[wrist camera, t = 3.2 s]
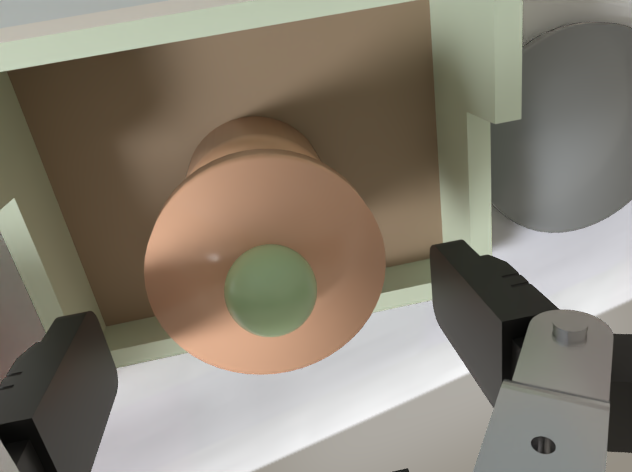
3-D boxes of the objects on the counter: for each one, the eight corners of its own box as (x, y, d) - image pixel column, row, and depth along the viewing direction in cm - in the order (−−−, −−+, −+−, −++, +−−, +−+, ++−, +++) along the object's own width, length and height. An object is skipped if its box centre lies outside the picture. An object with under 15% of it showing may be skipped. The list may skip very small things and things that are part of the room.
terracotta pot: (155, 121, 18) (89, 215, 10) (321, 91, 19) (395, 156, 10) (197, 269, 21) (174, 446, 12) (343, 239, 21) (416, 391, 13)
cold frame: (-24, 40, 17) (-215, 62, 10) (443, -38, 18) (584, -71, 11) (96, 338, 22) (29, 499, 15) (456, 262, 23) (559, 376, 16)
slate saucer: (467, 42, 19) (476, 43, 19) (675, 5, 20) (692, 4, 19) (473, 242, 23) (481, 250, 22) (650, 205, 23) (663, 211, 23)
